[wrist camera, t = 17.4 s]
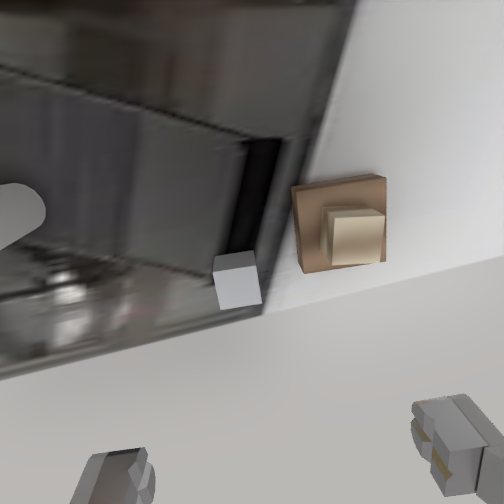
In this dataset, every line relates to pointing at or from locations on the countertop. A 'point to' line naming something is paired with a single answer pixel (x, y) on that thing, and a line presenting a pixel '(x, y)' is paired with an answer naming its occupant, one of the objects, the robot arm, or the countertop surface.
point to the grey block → (236, 280)
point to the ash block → (351, 234)
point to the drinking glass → (19, 212)
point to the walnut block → (332, 194)
